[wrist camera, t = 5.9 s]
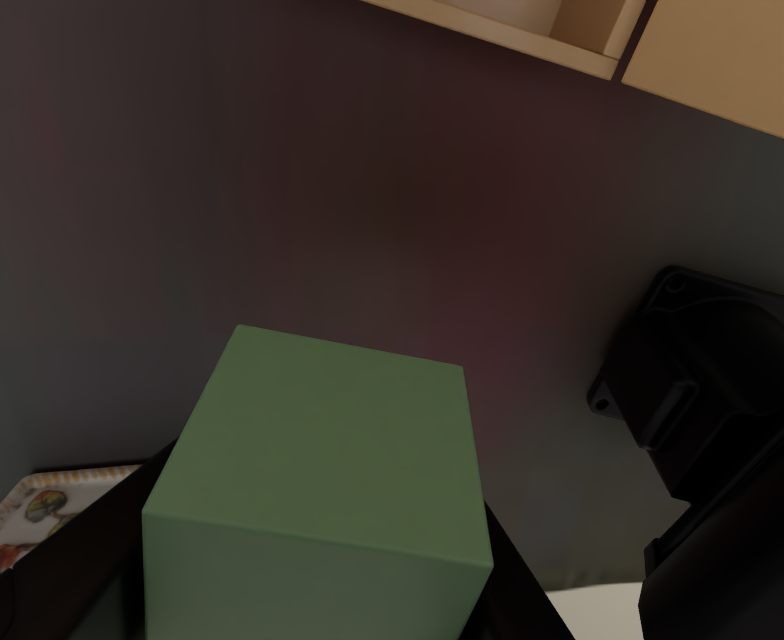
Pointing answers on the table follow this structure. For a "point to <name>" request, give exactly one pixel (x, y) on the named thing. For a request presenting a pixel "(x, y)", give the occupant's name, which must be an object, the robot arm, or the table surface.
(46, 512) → the decorative jar
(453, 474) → the block
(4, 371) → the table surface
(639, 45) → the flap
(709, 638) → the robot arm
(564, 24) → the carton
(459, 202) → the table surface
